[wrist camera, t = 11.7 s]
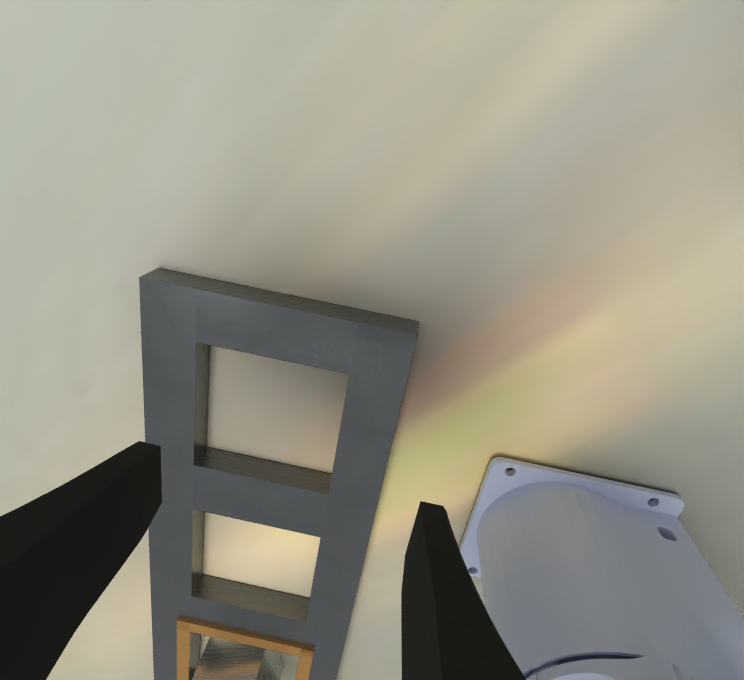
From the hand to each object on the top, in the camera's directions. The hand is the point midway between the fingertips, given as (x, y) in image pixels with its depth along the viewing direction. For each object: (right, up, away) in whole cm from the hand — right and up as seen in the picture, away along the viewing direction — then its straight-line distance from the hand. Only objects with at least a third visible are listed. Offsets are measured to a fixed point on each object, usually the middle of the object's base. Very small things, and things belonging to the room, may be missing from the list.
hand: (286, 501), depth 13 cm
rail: (-4, -8, +15) cm, 17 cm away
